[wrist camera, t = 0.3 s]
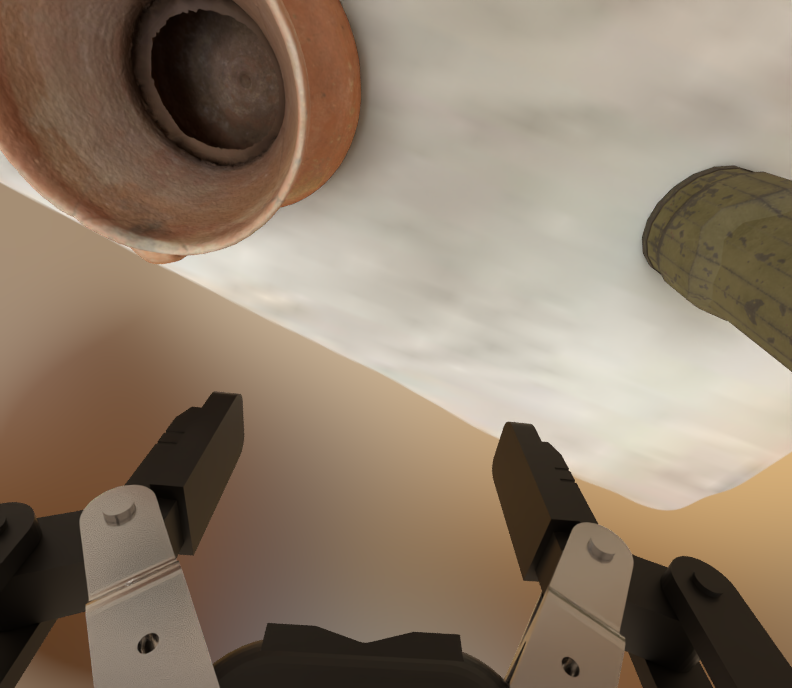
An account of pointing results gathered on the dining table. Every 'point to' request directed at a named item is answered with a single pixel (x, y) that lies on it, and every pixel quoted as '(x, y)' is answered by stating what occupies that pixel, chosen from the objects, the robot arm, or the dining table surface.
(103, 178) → the ceramic jug
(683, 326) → the dining table surface
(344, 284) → the dining table surface
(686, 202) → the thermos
